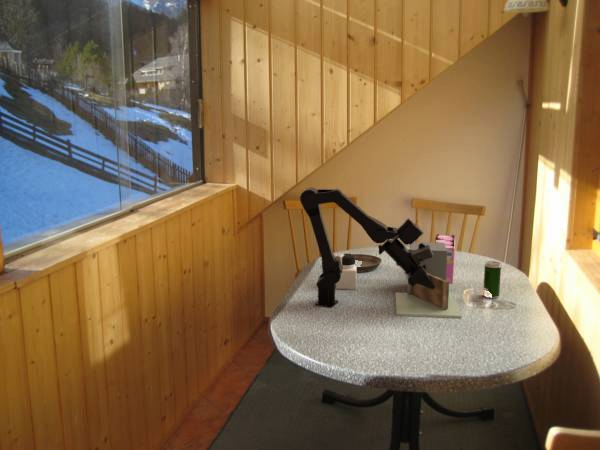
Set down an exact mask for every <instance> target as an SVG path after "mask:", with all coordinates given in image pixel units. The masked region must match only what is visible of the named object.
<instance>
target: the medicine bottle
mask: <svg viewBox="0 0 600 450" xmlns="http://www.w3.org/2000/svg"><path fill="white" fill-rule="evenodd" d="M353 254H354V253H340V254H339V255H337V256H338V257H340V261H341V265H342V266H343V270H342V274H341V278H340V280H339V282H337V283H336V285H335V290H357V273H358V272H357V266H356V265H355V256H354V255H353Z"/></svg>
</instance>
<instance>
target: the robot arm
mask: <svg viewBox="0 0 600 450" xmlns="http://www.w3.org/2000/svg"><path fill="white" fill-rule="evenodd" d="M299 200H300V201H299V202H300V204H301V206H302V208H303V209H304V211H305V213H306V215H307V216H308V217H309V220H310V223H311V226H312V231H313V233H314V236H315V240H316V244H317V247H318V249H319V253H320V258H321V270H322V271H321V272H322V273H321V274H320V275H319V276H318V278H317V282H316V287H317V301H316V302H314V304H315V305H314V304H313V305H314V306H318V305H323V306H322V307H326V306H328V307H327V308H333V307H335V305H336V304H338V303H339V300H338V299H336V285H335V284H336V283H337V282H339V280H340V278H341V274H342V270H343V266H342V265H341V261H340V257H337V258H336V256H335V254H334V252H333V249H332V245H331V242H330V239H329V238H330V237H329V235H328V231H327V229H326V225H325V221H324V219H323V215H322V214H323V213H322V205H323V204H328V203H334V204H336V205H337V206H338V207H339V208H340V209H341V210H342V211H344V213H346V214H348V216H350V217H351V218H352V219H353V220H354V221H355V222H356V223H358V225H360V226H361V227H362V229H363V230H364V232H365V233H366V234H367V235H368V237H369V238H370V239H371V240H372V242H373V243H375V244H378V246H377V247H378V255H381V254H383V253H384V252H385V253H387V254H386V255H388V256H389V257H390V258H391V259H392V260H393V261H394V262H395V265H396V266H397V267H400V268H401V269H402V270H403V271H404V273H405V275H406V276H407V284H408V283H409V284H410V285H411V286H414V285H415V284H416V283H417V284H420V285H422V286H425V287H427V288H430V289H434V288H435V286H434V285H433V283H432V282H431V280H430V278H429V277H428V275H427V270H426V265H423V266H421V265H420V264H421V261H422V262H423V261H424V260H425V259H428V258H432V257H433V253H432V251H431V248H430V246H429V245H427V246H426V245H425V244H424V243H421V244H419V246H418V249H416V250H415V251H412V250H411V249H410V248H407V246H408V245H409V246H410V245H411V244H412V243H413V242H416V241H417V240H418V239H419V238H420V237H422V236H423V234H424V231H423V230H422V229H421V228H420V226H419V225H418V224H417V223H415V222H413V220H411V219H410V218H409V217H408V218H407V219H406V220H405V221H404V222H403V223H402V224H401V225H400V226H399V227H394V226H393V227H392V226H387V225H386V224H385V223H383V222H382V221H380V220H378V219H377V218H374V217H372V216H370V215H369V214H367V213H366V212H365V211H364V210H363V209H362V208H361V207H360V206H358V204H357V203H355V202H353V200H352V199H350V198H349V197H348V196H347V195H346V194H345V193H343V191H342V190H341V189H339V188H334V189H327V188H326V189H323V188H322V189H317V188H315V187H312V186H310V187H306V188H305V189H304V190H303V191H302V192H301V194H300V196H299ZM404 244H405V245H404ZM406 245H407V246H406ZM419 265H420V266H419ZM409 273H410V274H409ZM408 274H409V275H408Z"/></svg>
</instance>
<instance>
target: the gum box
mask: <svg viewBox="0 0 600 450" xmlns="http://www.w3.org/2000/svg"><path fill="white" fill-rule="evenodd" d="M434 243H444V244H445V247H446V249H447V265H446V281H448V282H449V284H453V283H454V274H455V273H454V272H455V257H456V235H455V234H451V236H449V235H440V234H439V233H437V234H436V235H435V236H434Z"/></svg>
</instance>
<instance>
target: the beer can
mask: <svg viewBox="0 0 600 450" xmlns="http://www.w3.org/2000/svg"><path fill="white" fill-rule="evenodd" d="M483 270H484V271H483V273H484V274H483V288H482V289H483V290H486V291H489V292H490V293H491V294H492V300H494V299H495V300H497V299H498V298H499V297H500V292H501V276H502V274H501V273H502V264H501V262H500V261H496V260H494V261H493V260H487V261H485V264H484V269H483Z"/></svg>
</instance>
